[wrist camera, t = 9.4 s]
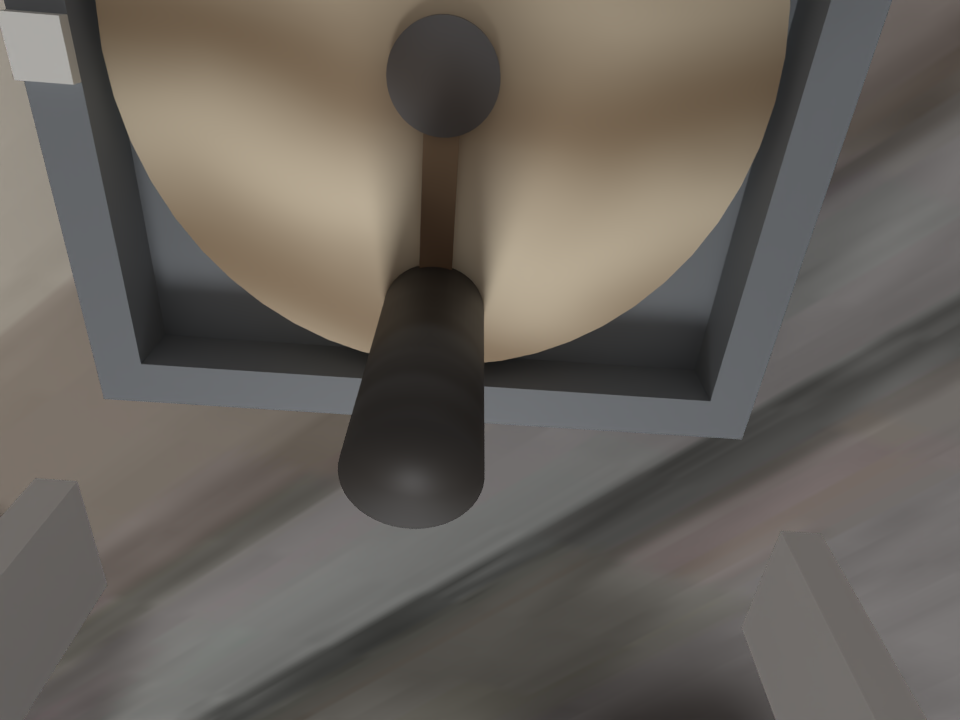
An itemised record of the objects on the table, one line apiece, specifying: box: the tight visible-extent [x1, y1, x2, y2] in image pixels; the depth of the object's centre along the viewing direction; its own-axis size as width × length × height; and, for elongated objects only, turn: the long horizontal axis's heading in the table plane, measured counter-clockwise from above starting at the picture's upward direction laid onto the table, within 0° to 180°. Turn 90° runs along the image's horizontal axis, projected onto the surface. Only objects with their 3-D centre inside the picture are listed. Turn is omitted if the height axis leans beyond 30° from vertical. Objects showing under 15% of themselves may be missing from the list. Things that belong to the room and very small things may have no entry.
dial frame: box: [0, 0, 892, 439], centre depth 19 cm, size 22×22×4 cm
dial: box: [95, 0, 790, 529], centre depth 15 cm, size 18×18×10 cm
